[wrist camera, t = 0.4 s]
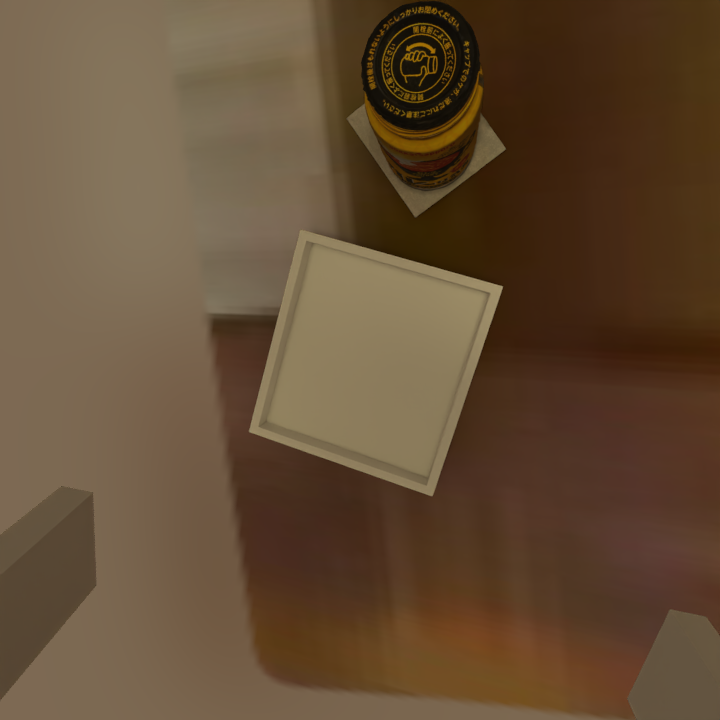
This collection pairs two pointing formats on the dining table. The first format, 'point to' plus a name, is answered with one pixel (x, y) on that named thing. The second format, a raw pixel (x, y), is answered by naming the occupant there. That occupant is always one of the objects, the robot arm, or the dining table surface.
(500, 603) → the dining table surface
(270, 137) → the dining table surface
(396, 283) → the tray
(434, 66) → the condiment
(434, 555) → the dining table surface
